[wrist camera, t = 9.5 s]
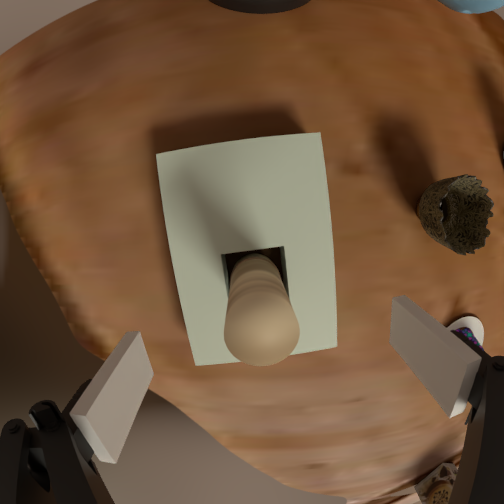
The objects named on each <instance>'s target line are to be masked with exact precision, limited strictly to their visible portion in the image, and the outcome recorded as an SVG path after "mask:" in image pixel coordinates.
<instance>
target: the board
mask: <svg viewBox="0 0 504 504" xmlns="http://www.w3.org/2000/svg"><path fill="white" fill-rule="evenodd" d="M156 159H157V167H158V175H159V183H160V190H161V197H162V204H163V211H164V217H165V223H166V230H167V235H168V241H169V247H170V252H171V258H172V263H173V268H174V273H175V279H176V283H177V288H178V293H179V298H180V302H181V307H182V311H183V316H184V320H185V324H186V329H187V333H188V337H189V341H190V345H191V349H192V353H193V357H194V361H195V365H196V366H197V365H210V364H222V363H232V362H241V361H240V360H238V359H237V358H235V357H234V356H233V355H232V354H231V353H230V351H229V350H228V348H227V346H226V344H225V341H224V325H225V318H226V311H227V304H228V297H229V290H230V283H229V277H228V270H227V264H226V257H225V254H228V253H235V252H242V251H250V250H257V249H265V248H272V247H280V255H281V264H282V273H283V282H284V288H285V290H286V293H287V295H288V298H289V300H290V303H291V305H292V308H293V310H294V313H295V315H296V318H297V320H298V323H299V328H300V336H299V340H298V343H297V345H296V347H295V349H294V350H293V351H292V353H291V354H290V355H293V354H299V353H305V352H311V351H317V350H322V349H327V348H333V347H337V312H336V286H335V267H334V251H333V238H332V226H331V215H330V205H329V195H328V186H327V178H326V170H325V162H324V155H323V148H322V141H321V134H320V133H304V134H291V135H280V136H269V137H260V138H251V139H243V140H236V141H228V142H221V143H215V144H208V145H202V146H196V147H191V148H185V149H180V150H175V151H169V152H165V153H160V154H156Z"/></svg>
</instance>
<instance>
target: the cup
mask: <svg viewBox="0 0 504 504" xmlns="http://www.w3.org/2000/svg"><path fill="white" fill-rule="evenodd" d="M481 183H482V181H481V180H478V179H476V176H468V174H465V175H462V176H457V177H452V178H447V179H443V180H440V181H437V182H435V183H433V184H431V185H430V186H429V187H428V188H427V189H426V190H425V191H424V193H423V195H422V196H421V197H420V198H419V200H418V202H417V206H416V212H417V215H418V218H419V219H420V221H421V224H422V226H423V228H424V230H425V231H426V233H427V234H428V235H429V236H430V237H431V238H433V239H434V240H435V241H437V242H439V243H440V244H442V245H444V246H446V247H447V248H449V249H451V250H453V251H455V252H456V253H457V254H462V255H466V253H469V254H475V252H474V250H475V249H480V248H482V247H484V246H485V239H486V237H488V236H489V235H490V231H489V230H488V229H487V228H486V225H487V224H488V221H487V220H488V218H489V217H493V213H492V212H491V211H490V210H491V209H492V207H493V206H494V203H493V201H492V200H491V199H490V198H489V197H488V196H487V195H486V194H487V193H488V191H489V190H488V189H486V188H485V187H480V186H481ZM465 252H466V253H465Z"/></svg>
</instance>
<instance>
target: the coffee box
mask: <svg viewBox="0 0 504 504" xmlns="http://www.w3.org/2000/svg"><path fill="white" fill-rule="evenodd" d="M457 472H458V470H457V468H456V467H455V465H454V464H451V463H442V464H441V465H440V466H438V467H437V468H436V469H435V470H434V471H433V472H432V473H430V474H429V475H428V476H427V477H426V478H425V479H423V480H422V481H421V482H420V483H418V484H417V485H416V486H415V490H416V492H417V494H418V496H419V498H420V500H421V502H422V504H448V501H449V498H450V495H451V492H452V489H453V486H454V482H455V479H456V475H457Z"/></svg>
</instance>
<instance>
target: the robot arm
mask: <svg viewBox="0 0 504 504" xmlns="http://www.w3.org/2000/svg"><path fill="white" fill-rule="evenodd" d="M209 1H211V2H213V3H215V4H217V5H219V6H221V7H224V8H227V9H230V10H234V11H239V12H246V13H257V14H265V13H278V12H284V11H288V10H292V9H295V8H298V7H300V6H302V5H304V4H306V3H308V2H309V1H310V0H209ZM438 1H439V2H441V3H442V4H444V5H445V6H447V7H448V8H450V9H452V10H454V11H457V12H461V13H469V14H471V13H484V12H488V11H492V10H495V9H498V8H500V7H502V6H504V0H438ZM389 343H390V344H391V345H392V347H393V348H394V349H395V350H396V351H397V353H398V354H399V355H400V356H401V357H402V359H403V360H404V361H405V362H406V364H407V365H408V366H409V367H410V368H411V370H412V371H413V372H414V373H415V375H416V376H417V377H418V378H419V380H420V381H421V382H422V383H423V385H424V386H425V387H426V388H427V390H428V391H429V392H430V393H431V395H432V396H433V397H434V399H435V400H436V401H437V402H438V404H439V405H440V406H441V408H442V409H443V410H444V412H445V413H446V414H447V415H448V417H449V418H451V417H453V416H455V415H458V414H460V413H462V412H464V409H465V407H466V404H467V401H469V403H470V404H471V405H472V408H471V410H470V413H469V415H468V417H467V420H466V422H465V425H467V423H468V426H467V432H466V437H465V442H464V447H463V452H462V456H461V460H460V464H459V468H458V472H457V475H456V479H455V482H454V486H453V489H452V492H451V495H450V498H449V501H448V504H504V356H494V357H491V356H490V355H488V354H487V353H486V352H485V351H483V350H482V349H481V348H480V347H479V346H477V345H476V344H474V342H472V341H471V340H469V338H468V337H466V336H465V335H464V334H463V333H460V332H458V331H455V330H451V331H449V330H448V329H447V328H446V327H445V326H443V325H442V324H441V323H440V322H438V321H437V320H436V319H435V318H433V317H432V316H431V315H430V314H428V313H427V312H426V311H424V310H423V309H422V308H421V307H419V306H418V305H417V304H416V303H414V302H413V301H412V300H410V299H409V298H408V297H406V296H405V295H402V296H398V297H393V298H392V314H391V329H390V340H389ZM153 375H154V373H153V370H152V367H151V364H150V361H149V359H148V356H147V353H146V349H145V346H144V343H143V340H142V337H141V334H140V331H133V332H126V334H125V335H124V336H123V338H122V339H121V341H120V342H119V343H118V345H117V346H116V347H115V349H114V350H113V351H112V353H111V354H110V356H109V357H108V358H107V360H106V361H105V363H104V364H103V365H102V367H101V368H100V370H99V371H98V373H97V374H96V375H95V377H94V378H93V379H89V380H87V381H86V382H85V383H83V384H82V385H81V386H80V388H79V389H78V390H77V392H76V394H74V396H73V398H72V399H71V400H70V401H69V403H68V404H67V406H66V407H65V409H64V410H63V411H62V413H61V412H60V411H59V409H58V407H57V405H56V404H55V402H53V401H51V400H44V401H40V402H38V403H36V404H35V405H33V406H32V407H31V409H30V410H29V416H30V418H31V419H32V421H33V422H34V424H35V425H36V427H35V428H28V427H27V425H26V424H25V422H24V421H23V420H21V419H12V420H10V421H8V422H7V423H6V424H5V425H4V427H3V429H2V432H1V436H0V504H115V503H114V501H113V499H112V498H111V496H110V494H109V492H108V490H107V488H106V486H105V484H104V482H103V481H102V478H101V477H100V474H99V472H98V470H97V468H96V466H95V463H94V462H93V461H92V459H91V457H92V455H93V453H95V454H96V456H97V457H98V458H99V460H100V461H103V462H109V463H115V464H116V462H117V460H118V457H119V455H120V452H121V450H122V448H123V445H124V443H125V440H126V438H127V435H128V433H129V431H130V428H131V426H132V423H133V421H134V419H135V416H136V414H137V411H138V409H139V407H140V405H141V402H142V400H143V397H144V395H145V393H146V391H147V388H148V386H149V384H150V382H151V379H152V377H153Z"/></svg>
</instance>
